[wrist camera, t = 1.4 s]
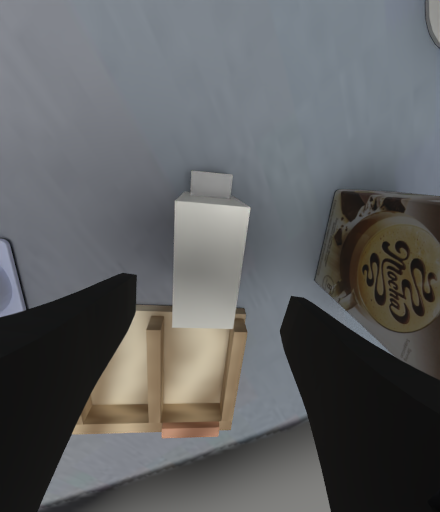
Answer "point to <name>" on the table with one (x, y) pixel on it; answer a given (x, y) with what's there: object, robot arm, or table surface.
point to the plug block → (208, 252)
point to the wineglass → (433, 19)
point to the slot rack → (168, 379)
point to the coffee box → (387, 269)
